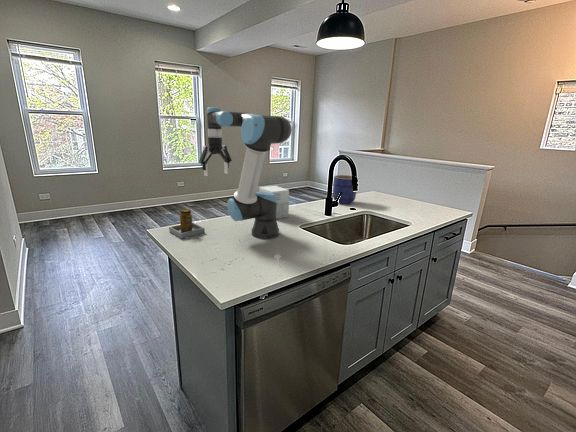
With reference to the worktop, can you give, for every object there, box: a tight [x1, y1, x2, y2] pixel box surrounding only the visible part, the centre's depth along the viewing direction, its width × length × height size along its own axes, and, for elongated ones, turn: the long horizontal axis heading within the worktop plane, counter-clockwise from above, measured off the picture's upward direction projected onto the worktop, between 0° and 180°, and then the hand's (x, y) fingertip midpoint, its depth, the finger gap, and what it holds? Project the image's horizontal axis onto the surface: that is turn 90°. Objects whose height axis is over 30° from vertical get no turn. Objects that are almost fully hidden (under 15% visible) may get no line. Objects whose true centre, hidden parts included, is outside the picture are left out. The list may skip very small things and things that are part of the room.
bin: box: [168, 221, 206, 240], centre depth 161 cm, size 13×13×3 cm
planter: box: [332, 174, 359, 205], centre depth 233 cm, size 18×18×21 cm
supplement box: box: [258, 185, 290, 220], centre depth 196 cm, size 17×13×18 cm
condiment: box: [179, 208, 193, 233], centre depth 159 cm, size 7×8×12 cm
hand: (216, 174), depth 172 cm, fingers open, 13 cm apart
